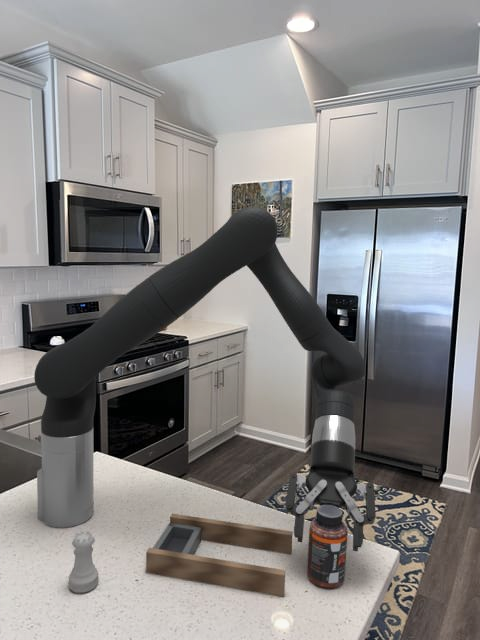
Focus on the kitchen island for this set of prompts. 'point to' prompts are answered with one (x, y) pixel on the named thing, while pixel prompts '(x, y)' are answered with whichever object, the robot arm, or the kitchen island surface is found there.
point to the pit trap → (179, 539)
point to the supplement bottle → (327, 547)
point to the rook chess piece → (83, 564)
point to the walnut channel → (225, 570)
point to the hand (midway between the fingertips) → (327, 545)
